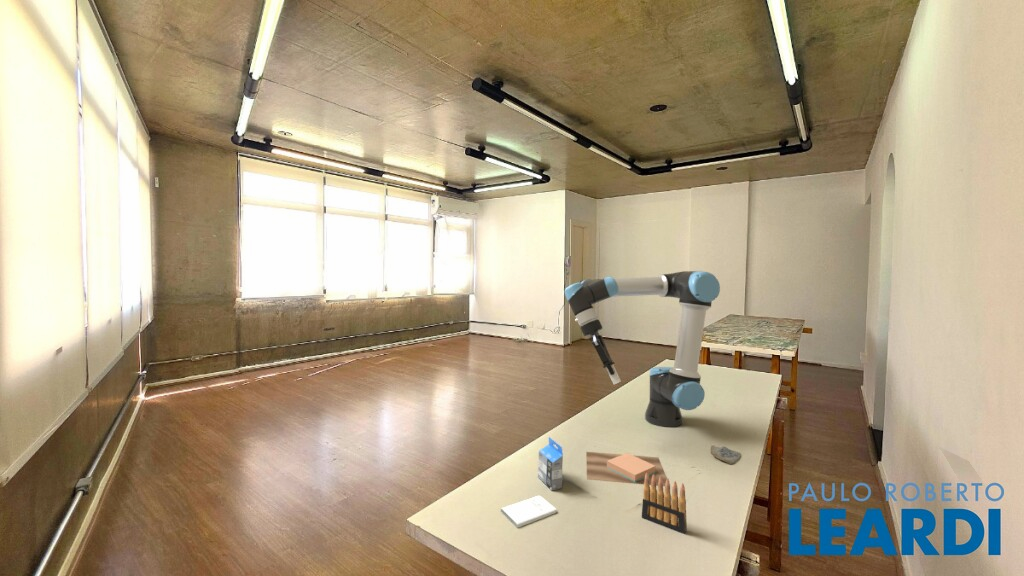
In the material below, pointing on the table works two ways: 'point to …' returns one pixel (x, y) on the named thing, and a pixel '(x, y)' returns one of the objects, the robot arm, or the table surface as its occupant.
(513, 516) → the external hard drive
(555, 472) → the label tape box
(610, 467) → the tile
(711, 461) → the table surface
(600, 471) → the board
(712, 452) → the ceramic fragment
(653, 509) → the ammunition clip
